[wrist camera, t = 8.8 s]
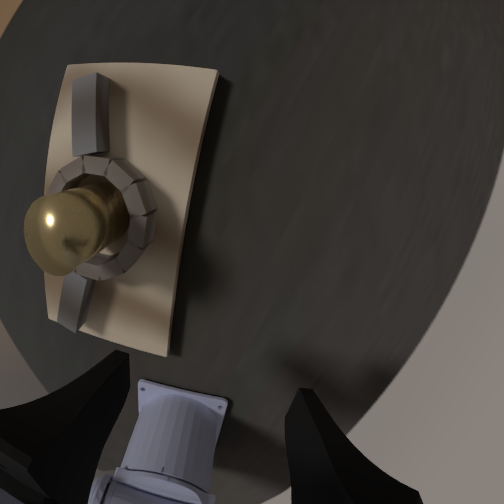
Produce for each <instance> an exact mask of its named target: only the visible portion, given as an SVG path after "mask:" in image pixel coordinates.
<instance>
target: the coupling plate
mask: <svg viewBox="0 0 504 504" xmlns="http://www.w3.org/2000/svg"><path fill="white" fill-rule="evenodd" d="M218 77H219V73H218V70H213V69H206V68H198V67H189V66H179V65H167V64H150V63H90V64H74V65H67V69H66V72H65V76H64V79H63V83H62V87H61V90H60V94H59V99H58V103H57V107H56V112H55V117H54V122H53V127H52V133H51V139H50V145H49V152H48V160H47V168H46V178H45V190H44V196H46V195H50V194H54V193H57V192H61V191H65V190H69V189H73V188H77V187H82V186H86V185H90V184H95V183H99V182H109V183H112V184H113V185H115V186H116V187H117V188H118V189H119V190H120V191H121V192H122V195H123V197H124V200H125V203H126V206H127V209H128V212H129V214H130V224H129V227H128V229H127V231H126V232H125V234H124V235H123V236H122V237H121V238H119V239H118V240H116V241H115V242H113V243H112V244H110V245H109V246H107V247H106V248H105V249H103V250H102V251H100V252H99V253H97V254H96V255H95V256H93V257H92V258H90V259H89V260H88V261H86V262H85V263H83V264H82V265H81V266H79V267H78V268H77V269H75V270H74V271H72V272H71V273H70V274H68V275H65V276H54V275H51V274H48V273H47V272H45V271H44V278H45V290H46V300H47V308H48V316H49V319H51V320H54V321H56V322H58V323H60V324H61V325H63V326H64V327H66V328H67V329H69V330H71V331H72V332H74V333H75V334H76V332H77V331H78V330H80V331H83V332H85V333H88V334H91V335H94V336H97V337H100V338H103V339H106V340H109V341H112V342H115V343H118V344H122V345H125V346H128V347H132V348H135V349H139V350H142V351H146V352H149V353H153V354H157V355H160V356H164V357H167V355H168V352H169V350H170V340H171V330H172V321H173V312H174V304H175V296H176V288H177V281H178V274H179V267H180V260H181V253H182V247H183V241H184V234H185V228H186V223H187V217H188V211H189V206H190V200H191V195H192V190H193V185H194V180H195V175H196V170H197V165H198V160H199V155H200V151H201V146H202V142H203V137H204V133H205V129H206V124H207V120H208V116H209V112H210V108H211V104H212V100H213V96H214V92H215V88H216V85H217V81H218Z"/></svg>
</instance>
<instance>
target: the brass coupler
mask: <svg viewBox="0 0 504 504" xmlns="http://www.w3.org/2000/svg"><path fill="white" fill-rule="evenodd" d="M129 224H130V214H129V212H128V209H127V206H126V203H125V200H124V197H123V195H122V192H121V191H120V190H119V189H118V188H117V187H116V186H115V185H113V184H112V183H109V182H99V183H95V184H90V185H86V186H82V187H77V188H73V189H69V190H65V191H61V192H57V193H54V194H50V195H46V196H43V197H40V198H38V199H37V200H35V201H34V202H33V203H32V204H31V206H30V207H29V209H28V211H27V214H26V217H25V222H24V236H25V241H26V245H27V248H28V251H29V253H30V255H31V257H32V258H33V260H34V261H35V263H36V264H37V265H38V266H39V267H40V268H41V269H42V270H44V271H45V272H47V273H48V274H51V275H54V276H65V275H68V274H70V273H71V272H72V271H74V270H75V269H77V268H78V267H79V266H81V265H82V264H83V263H85V262H86V261H88V260H89V259H90V258H92V257H93V256H95V255H96V254H97V253H99V252H100V251H102V250H103V249H105V248H106V247H107V246H109V245H110V244H112V243H113V242H115V241H116V240H118V239H119V238H121V237H122V236H123V235H124V234H125V232H126V231H127V229H128V227H129Z"/></svg>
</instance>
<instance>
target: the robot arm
mask: <svg viewBox="0 0 504 504" xmlns="http://www.w3.org/2000/svg"><path fill="white" fill-rule="evenodd" d="M144 388H145V389H144ZM129 389H130V367H129V354H128V353H125V352H122V351H119V350H115V351H113V352H112V353H111V354H109V355H108V356H107V357H105V358H104V359H103V360H102V361H100V362H99V363H98V364H96V365H95V366H94V367H92V368H91V369H90V370H88V371H87V372H85V373H84V374H83V375H81V376H80V377H78V378H77V379H75V380H73V381H72V382H70V383H69V384H67V385H65V386H64V387H62V388H60V389H58V390H56V391H54V392H52V393H50V394H48V395H46V396H44V397H41V398H39V399H36V400H34V401H31V402H29V403H25V404H22V405H18V406H15V407H11V408H6V409H1V410H0V504H215V501H216V496H215V495H212V494H210V487H211V477H212V468H213V459H214V450H215V447H216V443H217V440H218V436H219V433H220V429H221V426H222V423H223V419H224V415H225V412H226V408H227V405H228V401H227V399H225V398H221V397H216V396H211V395H206V394H201V393H196V392H191V391H187V390H183V389H178V388H174V387H170V386H166V385H162V384H159V383H155V382H151V381H148V380H144V379H141V380H139V382H138V402H139V417H138V420H137V423H136V425H135V428H134V431H133V434H132V436H131V439H130V442H129V445H128V447H127V450H126V453H125V456H124V459H123V462H122V464H121V467H120V468H119V467H117V468H116V471H115V474H114V477H113V476H111V475H108V474H104V475H103V476H100V477H97V478H96V479H95V481H94V482H93V479H94V475H95V472H96V469H97V465H98V462H99V459H100V456H101V453H102V450H103V447H104V445H105V443H106V441H107V439H108V437H109V434H110V432H111V430H112V428H113V426H114V424H115V422H116V420H117V418H118V416H119V414H120V412H121V410H122V408H123V406H124V403H125V401H126V398H127V395H128V392H129ZM285 441H286V449H287V456H288V463H289V470H290V477H291V497H292V498H291V499H292V504H423V502H422V499H421V497H420V494H419V492H418V491H417V490H415V489H413V488H410V487H408V486H407V485H405V484H403V483H400V482H399V481H397V480H396V479H394V478H392V477H390V476H389V475H388V474H386V473H385V472H383V471H382V470H381V469H379V468H378V467H377V466H376V465H374V464H373V463H372V462H371V461H370V460H368V459H367V458H366V457H365V456H364V455H363V454H362V453H361V452H360V451H359V450H358V449H357V448H356V447H355V446H354V445H353V444H352V443H351V442H350V441H349V439H348V438H347V437H346V436H345V435H344V433H343V432H342V431H341V430H340V428H339V427H338V426H337V424H336V423H335V422H334V420H333V419H332V417H331V416H330V415H329V413H328V412H327V410H326V409H325V407H324V406H323V404H322V403H321V401H320V400H319V398H318V397H317V395H316V394H315V392H314V391H313V389H305V388H299V389H298V391H297V393H296V396H295V398H294V400H293V402H292V404H291V406H290V408H289V410H288V412H287V414H286V416H285ZM92 483H93V484H92Z"/></svg>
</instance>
